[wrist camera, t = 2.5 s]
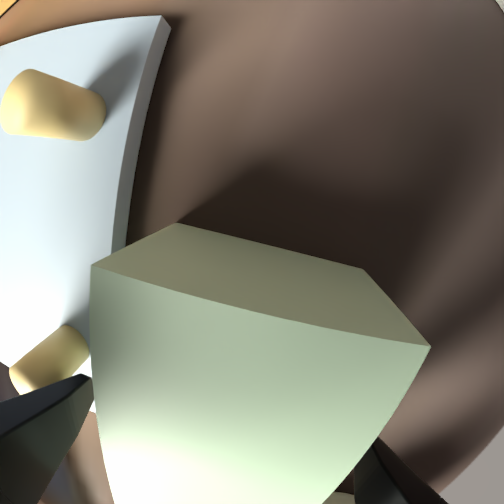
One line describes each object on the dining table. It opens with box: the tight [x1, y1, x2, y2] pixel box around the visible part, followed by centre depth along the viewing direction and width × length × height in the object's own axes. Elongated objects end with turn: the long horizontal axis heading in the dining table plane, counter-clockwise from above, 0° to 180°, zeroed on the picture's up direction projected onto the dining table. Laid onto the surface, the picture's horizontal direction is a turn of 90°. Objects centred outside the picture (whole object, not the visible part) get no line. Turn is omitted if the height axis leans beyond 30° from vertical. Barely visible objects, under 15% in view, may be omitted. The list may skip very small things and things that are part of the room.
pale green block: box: [89, 223, 431, 504], centre depth 8 cm, size 10×6×5 cm, turn 167°
